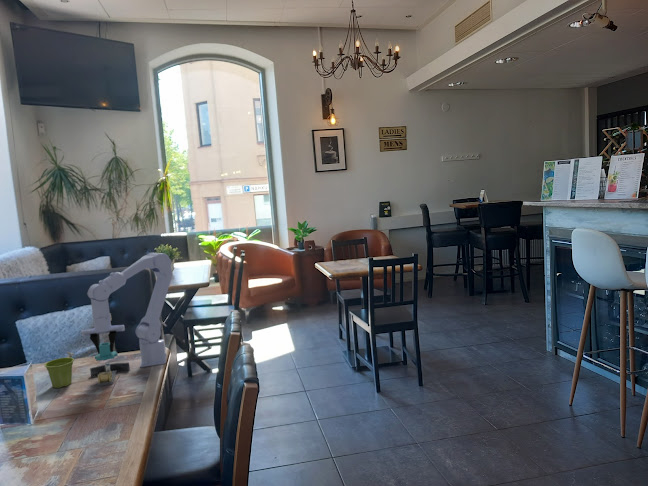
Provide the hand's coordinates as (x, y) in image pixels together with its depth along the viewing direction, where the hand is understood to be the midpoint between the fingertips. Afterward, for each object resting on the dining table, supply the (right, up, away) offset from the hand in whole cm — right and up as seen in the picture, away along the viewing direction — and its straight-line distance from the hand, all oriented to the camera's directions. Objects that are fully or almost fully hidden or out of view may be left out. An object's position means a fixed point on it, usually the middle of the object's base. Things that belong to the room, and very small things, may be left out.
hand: (105, 352), depth 182 cm
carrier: (+1, -9, -1) cm, 10 cm away
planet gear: (0, -2, 0) cm, 2 cm away
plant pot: (-14, -11, -4) cm, 18 cm away
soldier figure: (-24, -10, +17) cm, 31 cm away
